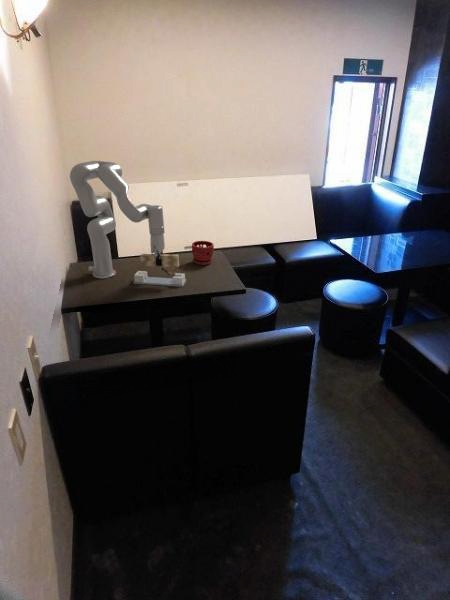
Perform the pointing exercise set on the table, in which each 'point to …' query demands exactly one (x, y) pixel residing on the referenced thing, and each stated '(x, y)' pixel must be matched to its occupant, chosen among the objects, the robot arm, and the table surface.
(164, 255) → the slat
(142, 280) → the endcap board
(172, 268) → the wooden fragment
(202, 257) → the plant pot
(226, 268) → the table surface
